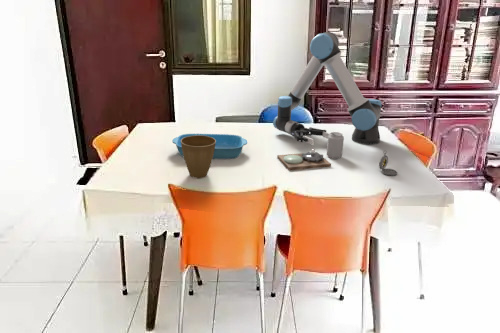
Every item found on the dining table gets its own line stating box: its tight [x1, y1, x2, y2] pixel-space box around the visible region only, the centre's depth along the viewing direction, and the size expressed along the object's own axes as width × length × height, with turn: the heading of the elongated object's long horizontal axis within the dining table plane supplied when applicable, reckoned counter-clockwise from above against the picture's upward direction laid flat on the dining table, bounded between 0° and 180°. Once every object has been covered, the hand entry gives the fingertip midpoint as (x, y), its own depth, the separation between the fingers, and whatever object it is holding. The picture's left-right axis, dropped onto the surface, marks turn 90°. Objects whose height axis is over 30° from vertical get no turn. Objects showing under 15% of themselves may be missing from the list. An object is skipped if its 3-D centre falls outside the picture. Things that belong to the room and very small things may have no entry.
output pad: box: [283, 154, 303, 164], centre depth 205 cm, size 9×9×1 cm
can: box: [326, 131, 345, 160], centre depth 213 cm, size 8×8×12 cm
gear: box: [302, 148, 325, 163], centre depth 207 cm, size 11×11×5 cm
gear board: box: [276, 151, 332, 171], centre depth 207 cm, size 21×16×2 cm
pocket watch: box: [378, 151, 398, 176], centre depth 196 cm, size 8×8×10 cm
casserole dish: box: [172, 133, 248, 160], centre depth 215 cm, size 37×22×7 cm, turn 93°
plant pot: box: [181, 135, 216, 179], centre depth 187 cm, size 15×15×16 cm
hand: (322, 139), depth 219 cm, fingers open, 13 cm apart
